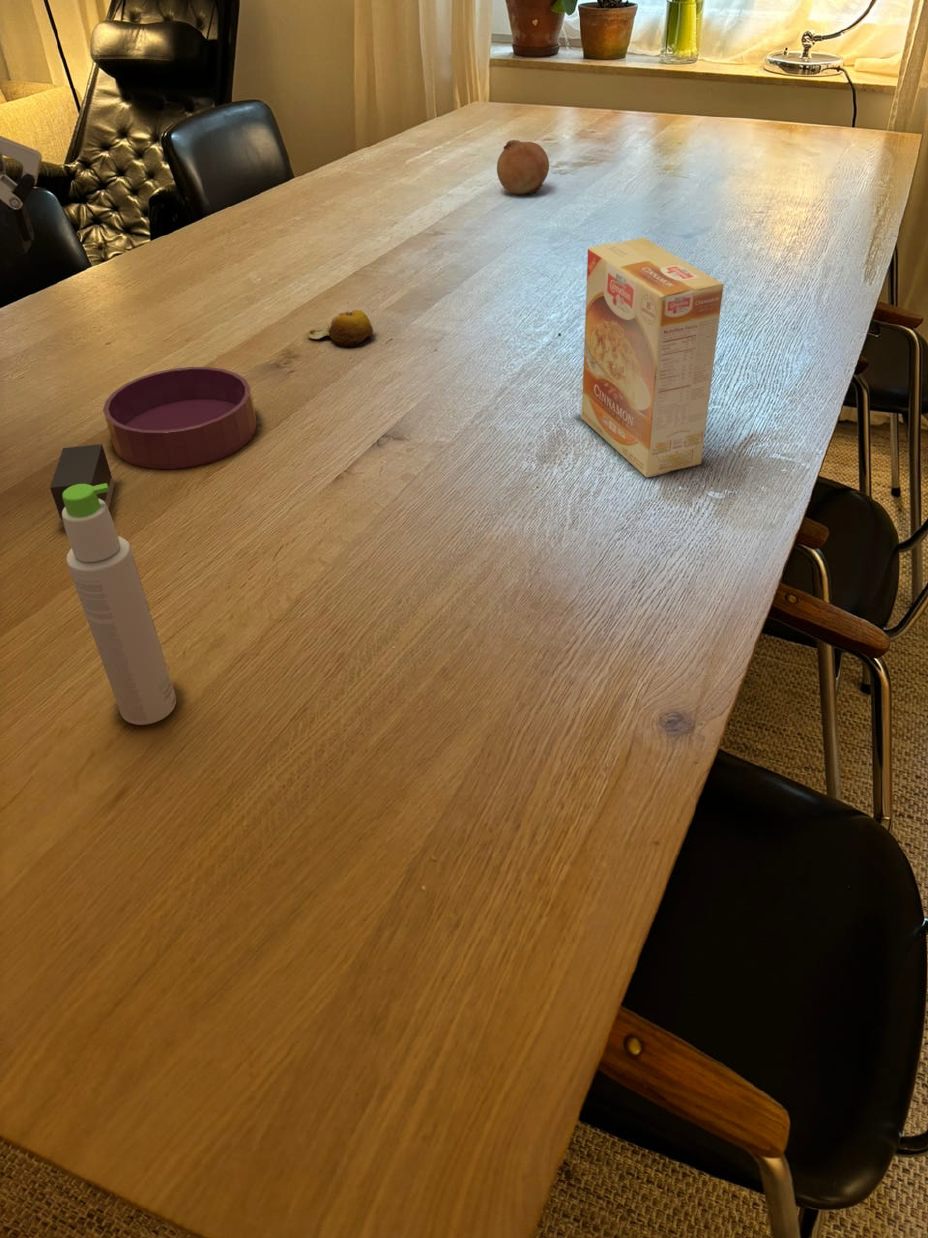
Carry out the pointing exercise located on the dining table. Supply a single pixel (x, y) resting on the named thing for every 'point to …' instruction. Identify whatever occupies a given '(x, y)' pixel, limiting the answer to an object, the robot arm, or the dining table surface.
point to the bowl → (181, 417)
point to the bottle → (116, 607)
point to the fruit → (346, 329)
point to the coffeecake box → (649, 353)
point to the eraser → (81, 473)
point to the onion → (522, 167)
